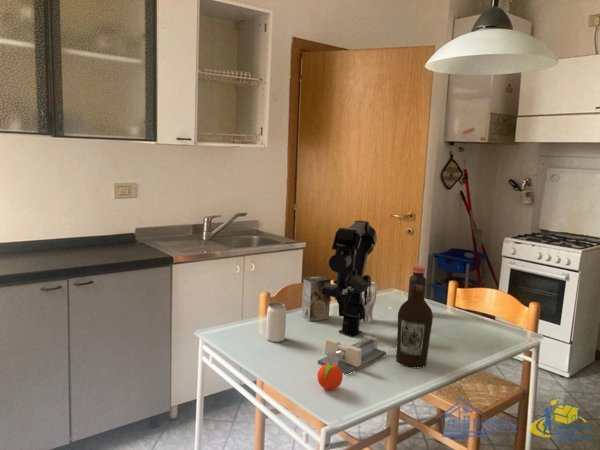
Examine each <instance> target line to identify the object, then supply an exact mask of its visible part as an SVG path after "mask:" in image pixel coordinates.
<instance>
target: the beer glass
mask: <svg viewBox="0 0 600 450" xmlns="http://www.w3.org/2000/svg"><path fill="white" fill-rule="evenodd" d="M370 284H371V286H368V288H367V290H366V291H364V292H362V293H361V296H362V299H363V304H364V308H365V319H362V320H360V323H363V324H371V323H373V322H374V314H373V313H374V308H375V304H376V300H377V299H376V298H377V289H378V288H377V287H378V286H377V283H376V282H373V281H371V283H370Z"/></svg>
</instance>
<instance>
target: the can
mask: <svg viewBox="0 0 600 450" xmlns="http://www.w3.org/2000/svg"><path fill="white" fill-rule="evenodd" d="M286 321H287V308H286V305H285V304H284V303H281V302H272V303H269V304H268V307H267V310H266V330H265V331H266V333H265V334H266V335H265V338H266V340H267V341H268V342H271V343H281V342H283V341H284V340H285V337H286V324H287V322H286Z"/></svg>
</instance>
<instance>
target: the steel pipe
mask: <svg viewBox="0 0 600 450" xmlns="http://www.w3.org/2000/svg"><path fill="white" fill-rule="evenodd" d="M378 340H379V339H378V338H377V337H374V336H371V335H365V336H363V340H361V341H359V342H356V343H354V345H353V344H352V346H354V347H357V348H360V349H361V348H363V347H365V348H368V349H371V350H376V349H378ZM344 356H345V351H344V350H341V351H339V352H333V351H330V352H328V356H327V355H326V357H327V364H328V363H331V364H335V365H336V366H338V367H341V366H342V357H344Z"/></svg>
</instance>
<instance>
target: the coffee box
mask: <svg viewBox="0 0 600 450" xmlns="http://www.w3.org/2000/svg"><path fill="white" fill-rule="evenodd" d="M302 281H303V283H302V299H301V300H302V301H301V318H304V320H306V321H308V322H314V321H321V320H322V321H323V320H328V319H330V303H331V302H330V301H331V296H328V295H324V294H321V287H323V286H324V285H327V284H332V283H331V282H332V279H331V278H329V277H327V276H323V275H320V276H319V275H318V276H307V277H303V280H302Z"/></svg>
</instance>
